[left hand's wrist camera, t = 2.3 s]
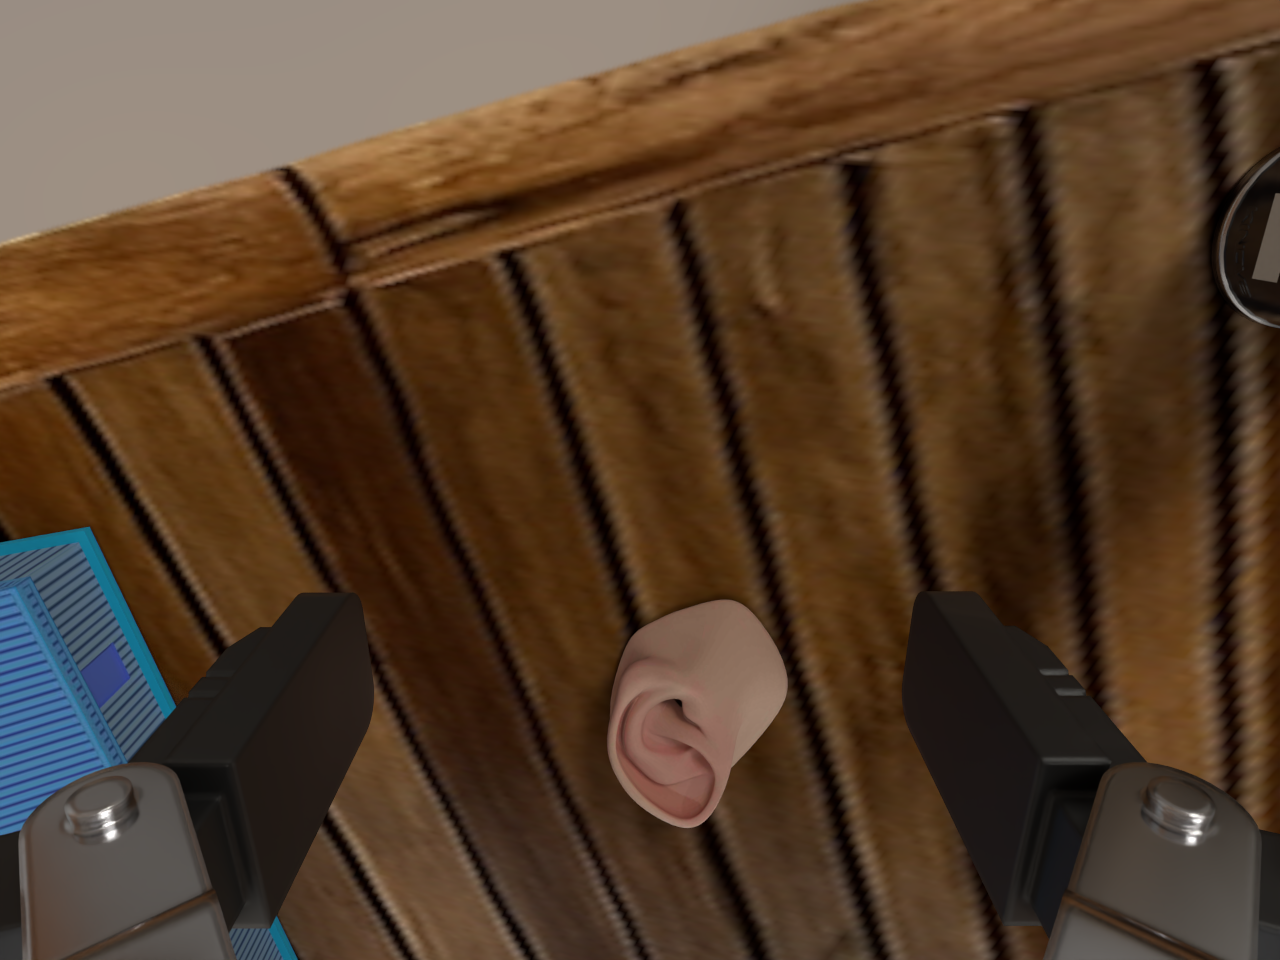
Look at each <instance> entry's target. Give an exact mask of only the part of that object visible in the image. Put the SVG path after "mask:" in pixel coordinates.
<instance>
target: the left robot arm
mask: <svg viewBox="0 0 1280 960" xmlns="http://www.w3.org/2000/svg"><path fill="white" fill-rule="evenodd" d="M1211 261H1212V270H1213V275H1214V279H1215V282H1216V285H1217V287H1218V289H1219V292H1220V294H1221V295H1222V297H1223V298H1224V300H1225V301H1226V302H1227V303H1228V305H1229V306H1230V307H1231V308H1232V309H1233V310H1235V311H1236V312H1237V313H1238V314H1240V315H1241V316H1243V317H1245V318H1247V319H1249V320H1251V321H1253V322H1256V323H1260V324H1263V325H1267V326H1271V327H1276V328H1280V147H1279V148H1277V149H1276V150H1274V151H1273V152H1271V153H1270V154H1268V155H1267V156H1266V157H1264V158H1263V159H1262V160H1261V161H1260V162H1258V163H1257V164H1256V165H1255V166H1254V167H1253V168H1252V169H1251V170H1250V171H1249V172H1248V173H1247V174H1246V175H1245V176H1244V178H1243V179H1242V180H1241V181H1240V183H1239V184H1238V185H1237V186H1236V188H1235V189H1234V191H1233V192H1232V194H1231V195H1230V197H1229V199H1228V200H1227V202H1226V204H1225V206H1224V208H1223V210H1222V212H1221V214H1220V217H1219V220H1218V222H1217V225H1216V229H1215V232H1214V237H1213V242H1212V255H1211ZM902 701H903V710H904V715H905V719H906V722H907V725H908V728H909V730H910V732H911V734H912V736H913V738H914V741H915V743H916V745H917V747H918V749H919V751H920V753H921V755H922V757H923V759H924V761H925V763H926V765H927V767H928V769H929V772H930V774H931V776H932V778H933V780H934V782H935V784H936V786H937V788H938V790H939V792H940V794H941V796H942V798H943V801H944V803H945V805H946V807H947V809H948V811H949V813H950V815H951V817H952V819H953V821H954V823H955V825H956V827H957V830H958V832H959V834H960V836H961V838H962V840H963V842H964V844H965V846H966V848H967V850H968V852H969V854H970V856H971V859H972V861H973V863H974V865H975V867H976V869H977V871H978V873H979V875H980V877H981V879H982V881H983V883H984V885H985V888H986V890H987V892H988V894H989V896H990V898H991V900H992V902H993V904H994V906H995V908H996V910H997V912H998V914H999V917H1000V919H1001V921H1002V923H1003V925H1004V926H1043V928H1044V930H1045V932H1046V934H1047V936H1048V938H1049V943H1048V946H1047V949H1046V952H1045V955H1044V959H1043V960H1280V834H1277V833H1273V832H1268V831H1264V830H1260V829H1258V826H1257V824H1256V823H1255V821H1254V820H1253V818H1252V817H1251V815H1250V814H1249V813H1248V812H1247V811H1246V810H1245V809H1244V808H1243V807H1242V806H1241V805H1240V804H1239V803H1238V802H1237V801H1236V800H1234V799H1233V798H1232V797H1231V796H1229V795H1228V794H1226V793H1225V792H1224V791H1222V790H1221V789H1219V788H1217V787H1216V786H1214V785H1212V784H1211V783H1209V782H1207V781H1205V780H1203V779H1201V778H1199V777H1197V776H1194V775H1192V774H1189V773H1187V772H1185V771H1182V770H1178V769H1175V768H1172V767H1168V766H1164V765H1160V764H1153V763H1147V762H1146V760H1145V759H1144V758H1143V757H1142V756H1141V755H1140V753H1139V752H1138V751H1137V750H1136V749H1135V748H1134V746H1133V745H1132V744H1131V743H1130V742H1129V741H1128V739H1127V738H1126V737H1125V736H1124V735H1123V734H1122V733H1121V731H1120V730H1119V729H1118V728H1117V727H1116V726H1115V724H1114V723H1113V722H1112V721H1111V720H1110V719H1109V717H1108V716H1107V715H1106V714H1105V713H1104V712H1103V710H1102V709H1101V708H1100V707H1099V706H1098V705H1097V703H1096V702H1095V701H1094V700H1093V699H1092V698H1091V696H1086V693H1085V689H1084V688H1083V687H1082V686H1081V685H1080V684H1079V682H1078V681H1077V680H1076V679H1075V678H1074V677H1073V675H1069V674H1068V670H1067V668H1066V667H1065V666H1064V665H1063V664H1062V663H1061V661H1060V660H1059V659H1058V658H1057V657H1056V656H1055V655H1054V653H1053V652H1052V651H1051V650H1050V649H1049V648H1048V646H1046V645H1044V644H1043V643H1041V642H1040V641H1038V640H1037V639H1035V638H1033V637H1032V636H1030V635H1029V634H1027V633H1026V632H1024V631H1022V630H1021V629H1019V628H1018V627H1016V626H1003V625H1002V623H1001V622H1000V621H999V620H998V618H997V617H996V616H995V615H994V613H993V612H992V611H991V610H990V608H989V607H988V606H987V605H986V603H985V602H984V601H983V600H982V598H981V597H980V596H979V595H978V594H977V593H975V592H972V591H923V592H920V593H919V594H918V595H917V597H916V599H915V602H914V606H913V612H912V619H911V626H910V633H909V640H908V647H907V654H906V661H905V668H904V675H903V683H902ZM373 703H374V684H373V677H372V670H371V663H370V656H369V649H368V642H367V635H366V628H365V622H364V615H363V608H362V604H361V601H360V599H359V597H358V595H357V594H355V593H301V594H299V595H298V596H297V597H296V598H295V599H294V600H293V601H292V603H291V604H290V605H289V606H288V607H287V609H286V610H285V611H284V612H283V614H282V615H281V616H280V617H279V619H278V620H277V621H276V622H275V624H274V625H273V626H272V627H260V628H258V629H257V630H255V631H254V632H252V633H250V634H249V635H247V636H246V637H244V638H242V639H241V640H239V641H238V642H236V643H235V644H233V645H231V646H230V647H228V648H227V649H226V650H225V651H224V652H223V654H222V655H221V656H220V657H219V658H218V659H217V661H216V662H215V663H214V664H213V665H212V666H211V667H210V669H209V670H208V671H207V672H206V677H202V678H201V679H200V680H199V681H198V682H197V684H196V685H195V686H194V687H193V688H192V689H191V691H190V692H189V697H188V698H184V699H183V700H182V701H181V702H180V703H179V704H178V706H177V707H176V708H175V709H174V710H173V711H172V712H171V714H170V715H169V716H168V717H167V718H166V719H165V721H164V722H163V723H162V724H161V725H160V726H159V727H158V729H157V730H156V731H155V732H154V733H153V734H152V736H151V737H150V738H149V739H148V740H147V741H146V742H145V744H144V745H143V746H142V747H141V748H140V749H139V751H138V752H137V753H136V754H135V755H134V756H133V757H132V759H131V760H130V761H129V762H128V763H127V764H120V765H116V766H112V767H108V768H105V769H102V770H98V771H95V772H93V773H91V774H88V775H86V776H83V777H81V778H79V779H77V780H75V781H73V782H71V783H69V784H68V785H66V786H64V787H63V788H61V789H59V790H58V791H56V792H55V793H54V794H52V795H51V796H49V797H48V798H47V799H46V800H44V801H43V802H42V803H41V804H40V805H39V806H38V807H37V808H36V809H35V810H34V811H33V812H32V813H31V814H30V815H29V817H28V818H27V820H26V821H25V823H24V824H23V826H22V829H21V830H20V831H16V832H12V833H8V834H4V835H0V960H237V959H236V955H235V952H234V949H233V946H232V943H231V939H230V936H229V933H230V931H231V929H270V928H271V926H272V924H273V922H274V920H275V918H276V916H277V914H278V912H279V910H280V908H281V905H282V903H283V901H284V899H285V897H286V895H287V893H288V891H289V889H290V887H291V885H292V883H293V881H294V879H295V877H296V875H297V873H298V871H299V869H300V867H301V865H302V862H303V860H304V858H305V856H306V854H307V852H308V850H309V848H310V846H311V844H312V842H313V840H314V838H315V836H316V834H317V832H318V830H319V828H320V826H321V824H322V822H323V820H324V817H325V815H326V813H327V811H328V809H329V807H330V805H331V803H332V801H333V799H334V797H335V795H336V793H337V791H338V789H339V787H340V785H341V783H342V781H343V779H344V777H345V775H346V772H347V770H348V768H349V766H350V764H351V762H352V760H353V758H354V756H355V754H356V752H357V750H358V748H359V746H360V744H361V742H362V740H363V738H364V736H365V734H366V732H367V729H368V727H369V724H370V720H371V716H372V711H373Z"/></svg>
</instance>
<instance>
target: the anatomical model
mask: <svg viewBox="0 0 1280 960" xmlns="http://www.w3.org/2000/svg"><path fill="white" fill-rule="evenodd" d="M787 686H788V685H787V674H786V669H785V666H784V663H783V660H782V658H781V655H780V653H779V651H778V649H777V647H776V645H775V644H774V642H773V640H772V638H771V637H770V635H769V634H768V632H767V631H766V629H765V628H764V626H763V625H762V624H761V622H760V621H759V620H758V619H757V618H756V616H755V615H754V614H753V613H752V612H751V611H750V610H749V609H748V608H747V607H745V606H744V605H742V604H741V603H738V602H736V601H733V600H715V601H710V602H706V603H701V604H698V605H695V606H692V607H689V608H686V609H682V610H679V611H676V612H673V613H671V614H668V615H666V616H664V617H662V618H660V619H658V620H656V621H654V622H651V623H649V624H647V625H645V626H644V627H642V628H641V629H639V630H638V631H637V632H636V633H635V634H634V635H633V636H632V637H631V639H630V640H629V642H628V644H627V646H626V648H625V650H624V652H623V655H622V658H621V661H620V663H619V667H618V670H617V673H616V677H615V681H614V685H613V689H612V695H611V702H610V721H609V726H608V734H607V748H608V755H609V759H610V762H611V765H612V768H613V770H614V773H615V775H616V776H617V778H618V780H619V782H620V783H621V785H622V786H623V788H624V789H625V791H626V792H627V793H628V794H629V795H630V797H631V798H632V799H633V800H634V801H635V802H636V803H637V804H639V805H640V806H641V807H642V808H644V809H645V810H647V811H648V812H649V813H651V814H652V815H654V816H656V817H657V818H659V819H661V820H663V821H665V822H667V823H669V824H672V825H675V826H678V827H683V828H691V827H695V826H698V825H700V824H701V823H703V822H704V821H705V820H706V819H707V818H708V817H709V816H710V815H711V814H712V812H713V811H714V809H715V808H716V806H717V804H718V802H719V800H720V798H721V796H722V794H723V792H724V789H725V787H726V784H727V781H728V778H729V774H730V770H731V767H732V766H733V765H734V764H735V763H736V762H737V761H738V760H739V759H740V758H741V757H742V756H743V755H744V754H745V753H746V752H747V751H748V750H749V749H750V748H751V746H752V745H753V744H754V743H755V742H756V741H757V739H758V738H759V737H760V736H761V735H762V734H763V732H764V731H765V730H766V729H767V727H768V726H769V725H770V723H771V722H772V721H773V719H774V718H775V716H776V715H777V714H778V712H779V710H780V708H781V707H782V705H783V702H784V700H785V697H786V693H787Z"/></svg>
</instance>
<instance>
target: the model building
mask: <svg viewBox="0 0 1280 960" xmlns="http://www.w3.org/2000/svg"><path fill="white" fill-rule="evenodd" d="M175 708H176V705H175V703H174V701H173V699H172V697H171V695H170V693H169V691H168V689H167V687H166V684H165V682H164V680H163V678H162V676H161V674H160V672H159V670H158V668H157V666H156V664H155V662H154V659H153V657H152V655H151V653H150V651H149V649H148V647H147V645H146V643H145V641H144V639H143V637H142V635H141V632H140V630H139V628H138V626H137V624H136V622H135V620H134V618H133V616H132V614H131V612H130V610H129V608H128V605H127V603H126V601H125V599H124V597H123V595H122V593H121V591H120V589H119V587H118V585H117V583H116V580H115V578H114V576H113V574H112V572H111V570H110V568H109V566H108V564H107V562H106V560H105V558H104V556H103V553H102V551H101V549H100V547H99V545H98V543H97V541H96V539H95V537H94V535H93V533H92V531H91V529H90V527H85V528H80V529H74V530H69V531H63V532H57V533H52V534H46V535H40V536H35V537H29V538H24V539H18V540H12V541H7V542H1V543H0V835H4V834H8V833H12V832H16V831H20V830H21V829H22V826H23V824H24V823H25V821H26V820H27V818H28V817H29V815H30V814H31V813H32V812H33V811H34V810H35V809H36V808H37V807H38V806H39V805H40V804H41V803H42V802H43V801H44V800H46V799H47V798H48V797H49V796H51V795H52V794H54V793H55V792H56V791H58V790H59V789H61V788H63V787H64V786H66V785H68V784H69V783H71V782H73V781H75V780H77V779H79V778H81V777H83V776H86V775H88V774H91V773H93V772H95V771H98V770H102V769H105V768H108V767H112V766H116V765H120V764H127V763H128V762H129V761H130V760H131V759H132V757H133V756H134V755H135V754H136V753H137V752H138V751H139V749H140V748H141V747H142V746H143V745H144V744H145V742H146V741H147V740H148V739H149V738H150V737H151V736H152V734H153V733H154V732H155V731H156V730H157V729H158V727H159V726H160V725H161V724H162V723H163V722H164V721H165V719H166V718H167V717H168V716H169V715H170V714H171V712H172V711H173V710H174V709H175ZM229 936H230V939H231V943H232V946H233V949H234V952H235V955H236V959H237V960H298V959H297V957H296V955H295V953H294V951H293V948H292V946H291V944H290V942H289V940H288V938H287V936H286V934H285V932H284V930H283V928H282V926H281V924H280V921H279V919H278V917H277V916H276V918H275V920H274V922H273V924H272V926H271V928H270V929H231V931H230V933H229Z"/></svg>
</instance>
